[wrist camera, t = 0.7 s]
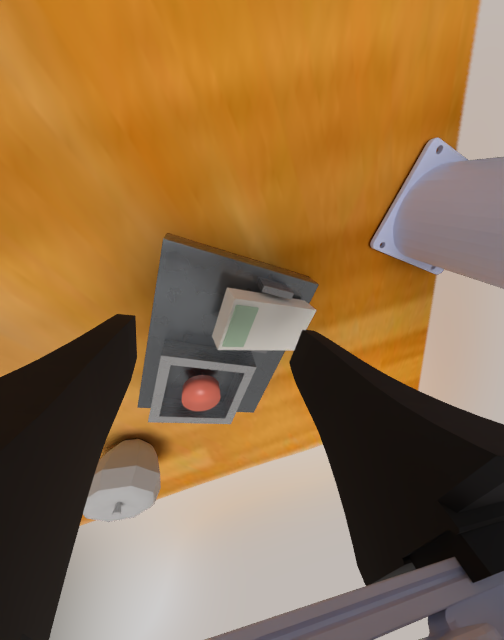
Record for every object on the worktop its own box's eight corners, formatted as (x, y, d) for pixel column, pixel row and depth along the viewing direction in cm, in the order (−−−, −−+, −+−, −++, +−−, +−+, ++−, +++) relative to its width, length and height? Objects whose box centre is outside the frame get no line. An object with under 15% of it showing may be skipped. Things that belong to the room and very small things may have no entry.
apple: (107, 421, 23) (79, 493, 18) (177, 432, 27) (172, 495, 21) (87, 462, 26) (57, 535, 21) (153, 467, 30) (143, 531, 24)
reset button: (223, 376, 19) (224, 387, 18) (214, 401, 20) (215, 412, 20) (186, 373, 18) (185, 383, 17) (179, 399, 19) (178, 410, 18)
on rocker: (304, 300, 18) (317, 311, 17) (285, 339, 20) (295, 351, 18) (227, 287, 14) (235, 299, 13) (211, 336, 16) (218, 351, 15)
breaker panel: (308, 276, 19) (331, 294, 16) (250, 398, 26) (257, 428, 23) (167, 233, 15) (158, 245, 12) (142, 390, 22) (132, 426, 19)
